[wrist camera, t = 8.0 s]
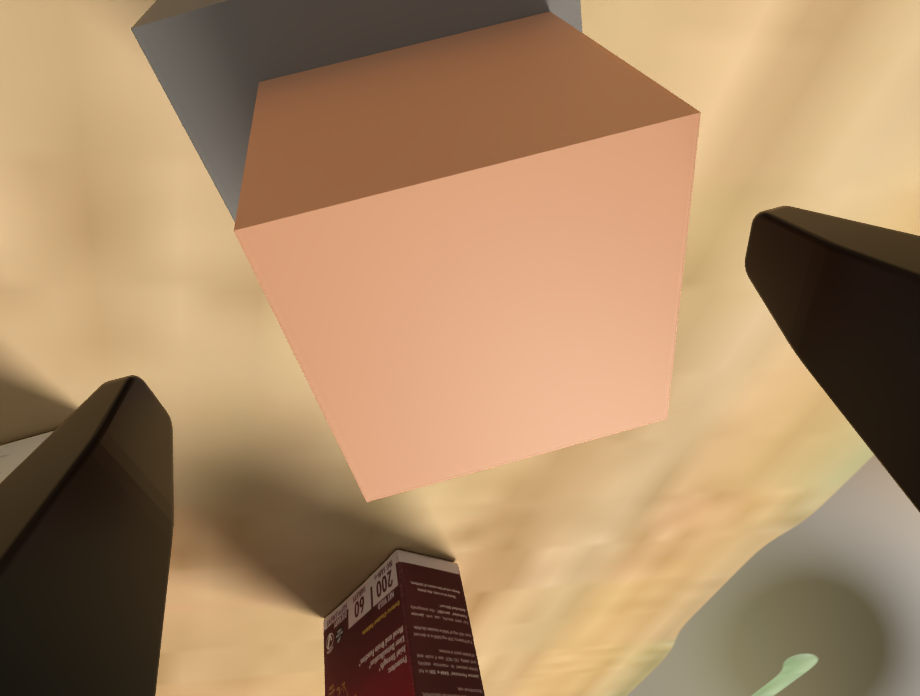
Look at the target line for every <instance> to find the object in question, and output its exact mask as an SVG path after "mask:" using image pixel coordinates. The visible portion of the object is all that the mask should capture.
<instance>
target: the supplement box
mask: <svg viewBox="0 0 920 696" xmlns="http://www.w3.org/2000/svg"><path fill="white" fill-rule="evenodd" d="M324 664H325V696H485V695H484V690H483V685H482V680H481V675H480V670H479V665H478V660H477V656H476V650H475V646H474V641H473V635H472V630H471V625H470V620H469V616H468V611H467V606H466V601H465V596H464V591H463V586H462V582H461V577H460V572H459V567H458V564H457V563H453V562H450V561H446V560H442V559H438V558H434V557H430V556H426V555H421V554H417V553H412V552H408V551H403V550H396V551H395V552H394V553H393V554H392V555H391V556H390V557H389V558H388V559H387V560H386V561H385V562H384V563H383V564H382V565H381V566H380V567H379V568H378V569H377V570H376V571H375V572H374V573H373V574H372V575H371V576H370V577H369V578H368V579H367V580H366V581H365V582H364V583H363V584H362V585H361V586H360V587H359V588H358V589H357V590H356V591H355V592H354V593H353V594H351V595H350V596H349V597H348V598H347V599H346V600H345V601H344V602H343V603H342V604H341V605H340V606H339V607H337V608H336V609H335V610H334V611H333V612H332V613H331V614H329V615H328V616H327V617H326V618H325V619H324Z"/></svg>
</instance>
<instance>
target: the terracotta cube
mask: <svg viewBox="0 0 920 696" xmlns="http://www.w3.org/2000/svg"><path fill="white" fill-rule="evenodd" d="M700 114H701V112H699V111H698V110H696V109H695V108H693V107H692V106H690V105H689V104H687V103H686V102H684V101H683V100H682V99H680V98H679V97H677V96H676V95H674V94H673V93H671V92H670V91H668V90H667V89H665V88H664V87H662V86H661V85H659V84H658V83H656V82H655V81H653V80H652V79H650V78H649V77H647V76H646V75H644V74H643V73H641V72H640V71H638V70H637V69H635V68H634V67H632V66H631V65H629V64H628V63H626V62H625V61H623V60H622V59H620V58H619V57H617V56H616V55H614V54H613V53H611V52H610V51H608V50H607V49H605V48H604V47H602V46H601V45H599V44H598V43H596V42H595V41H594V40H592V39H591V38H589V37H588V36H586V35H585V34H583V33H582V32H580V31H579V30H577V29H576V28H574V27H573V26H571V25H570V24H568V23H567V22H565V21H564V20H562V19H561V18H559V17H558V16H556V15H555V14H553V13H552V12H550V11H549V12H545V13H541V14H537V15H533V16H529V17H525V18H521V19H517V20H512V21H508V22H504V23H500V24H496V25H492V26H488V27H484V28H479V29H475V30H471V31H467V32H463V33H459V34H455V35H451V36H447V37H442V38H438V39H434V40H430V41H426V42H422V43H418V44H414V45H409V46H405V47H401V48H397V49H393V50H389V51H385V52H381V53H377V54H372V55H368V56H364V57H360V58H356V59H352V60H348V61H344V62H339V63H335V64H331V65H327V66H323V67H319V68H315V69H311V70H307V71H302V72H298V73H294V74H290V75H286V76H282V77H278V78H274V79H270V80H265V81H261V82H259V84H258V90H257V96H256V102H255V108H254V114H253V120H252V126H251V132H250V138H249V144H248V150H247V156H246V161H245V167H244V173H243V179H242V185H241V191H240V197H239V203H238V209H237V215H236V221H235V227H234V232H235V234H236V236H237V238H238V240H239V242H240V244H241V246H242V248H243V250H244V252H245V255H246V257H247V259H248V261H249V263H250V265H251V267H252V269H253V271H254V273H255V275H256V277H257V279H258V281H259V283H260V285H261V287H262V289H263V291H264V293H265V295H266V297H267V299H268V302H269V304H270V306H271V308H272V310H273V312H274V314H275V316H276V318H277V320H278V322H279V324H280V326H281V328H282V330H283V332H284V334H285V336H286V338H287V340H288V342H289V344H290V346H291V349H292V351H293V353H294V355H295V357H296V359H297V361H298V363H299V365H300V367H301V369H302V371H303V373H304V375H305V377H306V379H307V381H308V383H309V385H310V387H311V389H312V391H313V393H314V396H315V398H316V400H317V402H318V404H319V406H320V408H321V410H322V412H323V414H324V416H325V418H326V420H327V422H328V424H329V426H330V428H331V430H332V432H333V434H334V436H335V438H336V440H337V443H338V445H339V447H340V449H341V451H342V453H343V455H344V457H345V459H346V461H347V463H348V465H349V467H350V469H351V471H352V473H353V475H354V477H355V479H356V481H357V483H358V485H359V487H360V490H361V492H362V494H363V496H364V498H365V500H366V502H369V501H373V500H377V499H380V498H384V497H387V496H391V495H395V494H398V493H402V492H406V491H409V490H413V489H416V488H420V487H424V486H427V485H431V484H434V483H438V482H442V481H445V480H449V479H453V478H456V477H460V476H463V475H467V474H471V473H474V472H478V471H481V470H485V469H489V468H492V467H496V466H500V465H503V464H507V463H510V462H514V461H518V460H521V459H525V458H529V457H532V456H536V455H539V454H543V453H547V452H550V451H554V450H557V449H561V448H565V447H568V446H572V445H576V444H579V443H583V442H586V441H590V440H594V439H597V438H601V437H604V436H608V435H612V434H615V433H619V432H623V431H626V430H630V429H633V428H637V427H641V426H644V425H648V424H651V423H655V422H659V421H662V420H666V419H667V415H668V406H669V396H670V387H671V378H672V369H673V360H674V351H675V342H676V333H677V324H678V314H679V305H680V296H681V287H682V278H683V269H684V260H685V251H686V241H687V232H688V223H689V214H690V205H691V196H692V187H693V178H694V169H695V159H696V150H697V141H698V132H699V123H700Z"/></svg>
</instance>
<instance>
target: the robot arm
mask: <svg viewBox="0 0 920 696" xmlns="http://www.w3.org/2000/svg"><path fill="white" fill-rule="evenodd" d="M745 268H746V272H747V275H748V277H749V279H750V280H751V282H752V284H753V285H754V287H755V289H756V290H757V292H758V293H759V295H760V297H761V298H762V300H763V302H764V303H765V305H766V307H767V308H768V310H769V311H770V313H771V315H772V316H773V318H774V320H775V321H776V323H777V325H778V326H779V328H780V329H781V331H782V333H783V334H784V336H785V338H786V339H787V341H788V342H789V344H790V345H791V347H792V348H793V350H794V352H795V353H796V354H797V356H798V357H799V359H800V360H801V361H802V363H803V364H804V365H805V367H806V368H807V369H808V371H809V372H810V373H811V374H812V376H813V377H814V378H815V379H816V381H817V382H818V383H819V385H820V386H821V387H822V388H823V390H824V391H825V392H826V394H827V395H828V396H829V397H830V399H831V400H832V401H833V402H834V404H835V405H836V406H837V408H838V409H839V410H840V411H841V413H842V414H843V415H844V416H845V418H846V419H847V420H848V422H849V423H850V424H851V425H852V427H853V428H854V429H855V431H856V432H857V433H858V434H859V436H860V437H861V438H862V439H863V441H864V442H865V443H866V445H867V446H868V447H869V448H870V450H871V451H872V452H873V454H874V455H875V456H876V457H877V459H878V460H879V461H880V462H881V464H882V465H883V466H884V468H885V469H886V470H887V471H888V473H889V474H890V475H891V476H892V478H893V479H894V480H895V482H896V483H897V484H898V485H899V487H900V488H901V489H902V491H903V492H904V493H905V494H906V496H907V497H908V498H909V499H910V501H911V502H912V503H913V505H914V506H915V507H916V508H917V510H918V511H919V512H920V236H917V235H913V234H909V233H904V232H900V231H896V230H891V229H887V228H882V227H878V226H874V225H869V224H865V223H861V222H856V221H852V220H847V219H843V218H839V217H834V216H830V215H826V214H821V213H817V212H813V211H808V210H804V209H799V208H795V207H791V206H781V207H777V208H773V209H769V210H766V211H762V212H760V213H758V214H757V215H756V216H755V218H754V219H753V222H752V226H751V231H750V236H749V241H748V247H747V252H746V257H745ZM173 525H174V482H173V428H172V422H171V419H170V417H169V415H168V413H167V411H166V410H165V409H164V407H163V406H162V405H161V403H160V402H159V401H158V399H157V398H156V397H155V395H154V394H153V392H152V391H151V390H150V388H149V387H148V386H147V384H146V383H145V382H144V381H143V380H142V379H141V378H140V377H138V376H134V375H130V376H127V377H123V378H119V379H115V380H111V381H108V382H106V383H104V384H102V385H101V386H100V387H99V388H98V389H97V390H96V391H95V392H94V393H93V394H92V395H91V396H90V397H89V398H88V399H87V400H86V401H85V402H84V403H83V404H82V405H81V406H80V407H78V408H77V409H76V410H75V411H74V412H73V413H72V414H71V415H70V416H69V417H68V418H67V419H66V420H65V421H64V422H63V423H62V424H61V425H60V426H59V427H58V428H57V429H56V430H55V431H54V432H53V433H52V434H51V435H50V436H48V437H47V438H46V439H45V440H44V441H43V442H42V443H41V444H40V445H39V446H38V447H37V448H36V449H35V450H34V451H33V452H32V453H31V454H30V455H29V456H28V457H27V458H26V459H25V460H24V461H23V462H22V463H21V464H20V465H18V466H17V467H16V468H15V469H14V470H13V471H12V472H11V473H10V474H9V475H8V476H7V477H6V478H5V479H4V480H3V481H2V482H1V483H0V696H155V693H156V684H157V675H158V666H159V657H160V647H161V638H162V629H163V620H164V611H165V602H166V593H167V583H168V574H169V565H170V556H171V547H172V537H173Z"/></svg>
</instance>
